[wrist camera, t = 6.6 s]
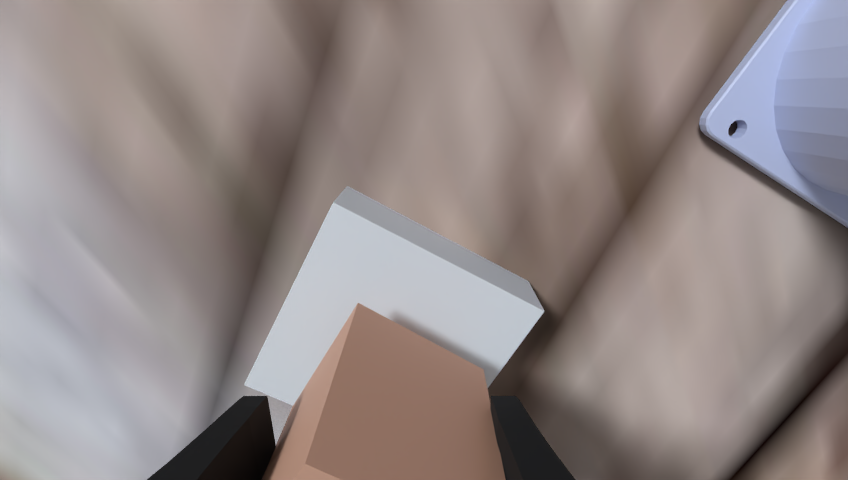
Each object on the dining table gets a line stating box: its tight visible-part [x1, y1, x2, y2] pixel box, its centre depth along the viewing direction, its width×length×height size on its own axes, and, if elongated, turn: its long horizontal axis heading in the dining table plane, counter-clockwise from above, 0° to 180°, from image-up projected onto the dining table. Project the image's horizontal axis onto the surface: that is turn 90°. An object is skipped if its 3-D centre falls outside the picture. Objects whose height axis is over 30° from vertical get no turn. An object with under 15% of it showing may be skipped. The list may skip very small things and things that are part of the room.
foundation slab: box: [244, 186, 544, 405], centre depth 14 cm, size 7×7×2 cm
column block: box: [262, 303, 506, 480], centre depth 9 cm, size 4×4×5 cm
